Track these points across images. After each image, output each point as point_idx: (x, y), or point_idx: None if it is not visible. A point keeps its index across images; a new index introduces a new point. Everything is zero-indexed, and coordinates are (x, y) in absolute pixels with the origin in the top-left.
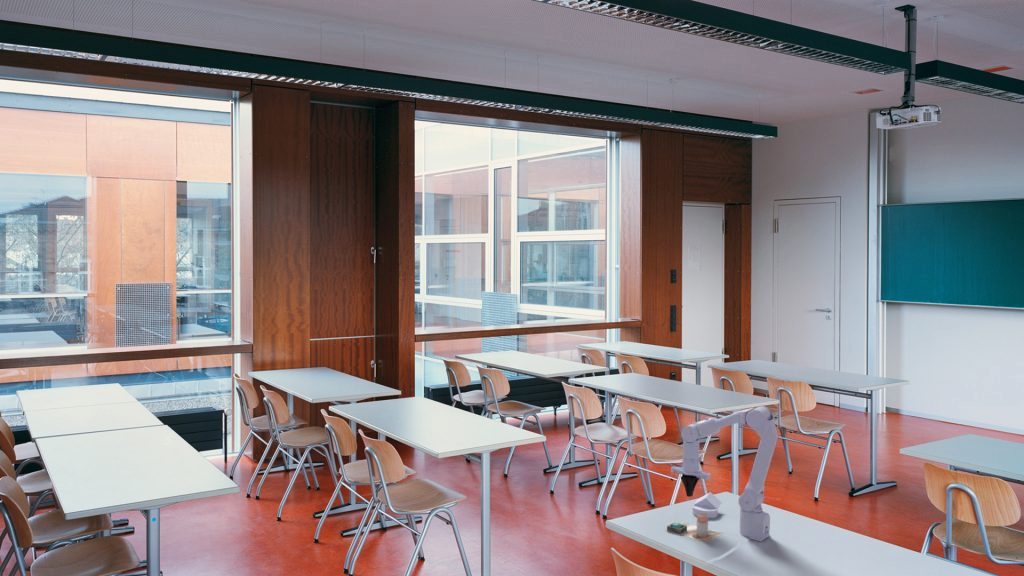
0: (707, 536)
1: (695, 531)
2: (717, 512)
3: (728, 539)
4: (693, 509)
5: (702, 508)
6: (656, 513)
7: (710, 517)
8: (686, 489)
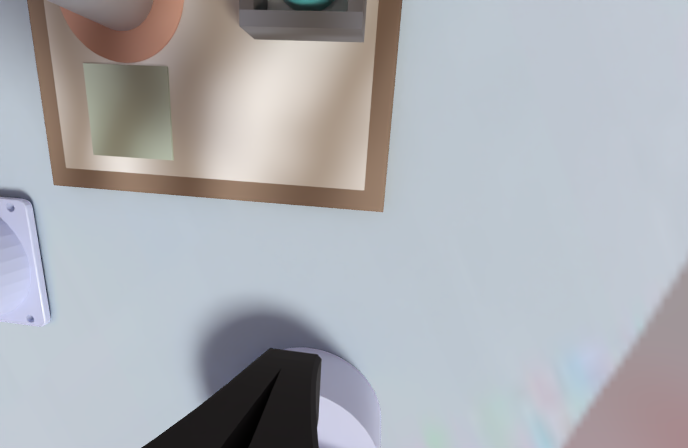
0: None
1: (200, 63)
2: None
3: (21, 108)
4: (356, 406)
5: None
6: (601, 294)
7: None
8: (287, 423)
